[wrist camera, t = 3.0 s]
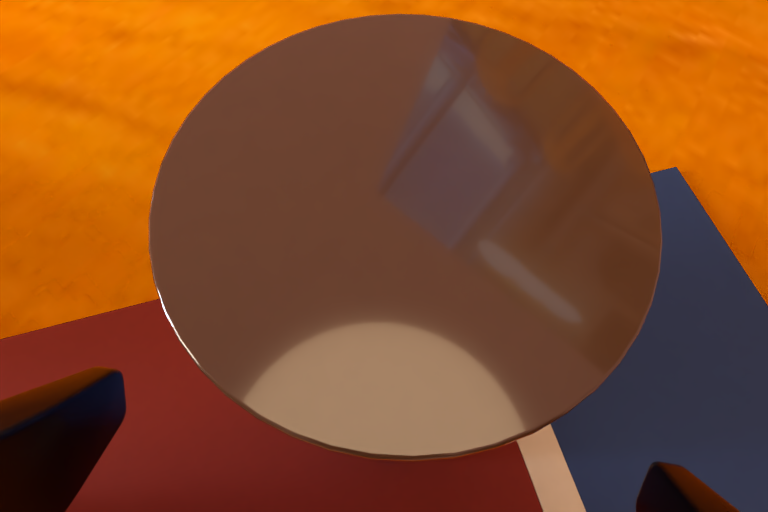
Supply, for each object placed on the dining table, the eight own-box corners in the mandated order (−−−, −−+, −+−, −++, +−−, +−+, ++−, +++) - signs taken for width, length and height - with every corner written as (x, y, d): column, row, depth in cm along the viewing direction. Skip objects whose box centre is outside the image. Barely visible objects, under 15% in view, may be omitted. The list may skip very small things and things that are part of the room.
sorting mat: (891, 509, 16) (902, 510, 16) (-356, 964, 12) (-378, 979, 12) (671, 171, 22) (676, 166, 22) (-216, 398, 18) (-229, 397, 18)
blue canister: (507, 438, 17) (777, 360, 5) (327, 495, 16) (169, 550, 4) (446, 274, 19) (536, -21, 8) (289, 316, 19) (132, 59, 7)
